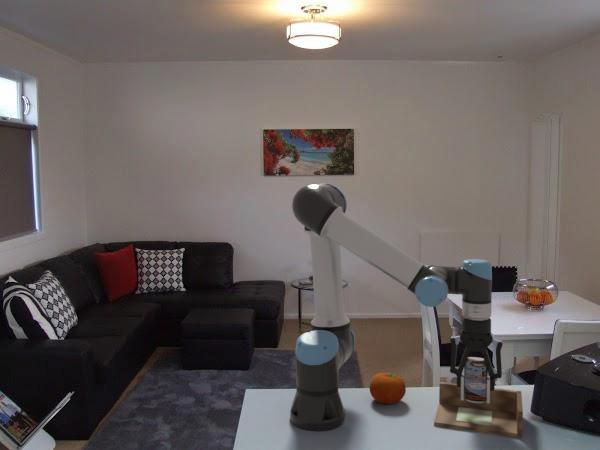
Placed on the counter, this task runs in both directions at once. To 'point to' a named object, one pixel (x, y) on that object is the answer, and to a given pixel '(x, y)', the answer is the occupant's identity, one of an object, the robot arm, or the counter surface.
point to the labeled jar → (475, 380)
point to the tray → (481, 412)
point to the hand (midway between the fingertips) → (475, 399)
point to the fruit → (387, 388)
